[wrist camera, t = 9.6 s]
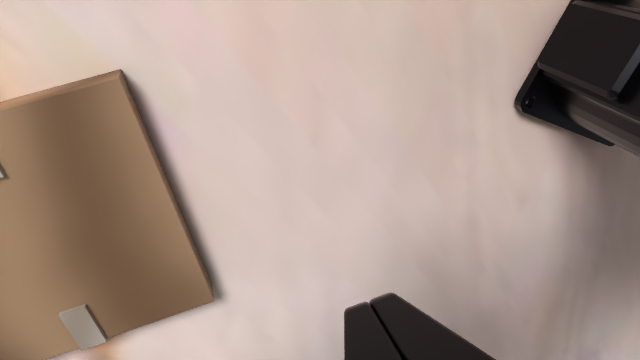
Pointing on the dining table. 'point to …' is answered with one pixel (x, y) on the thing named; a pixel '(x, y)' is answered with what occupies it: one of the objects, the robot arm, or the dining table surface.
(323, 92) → the dining table surface
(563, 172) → the dining table surface
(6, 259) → the brown flat wooden board
